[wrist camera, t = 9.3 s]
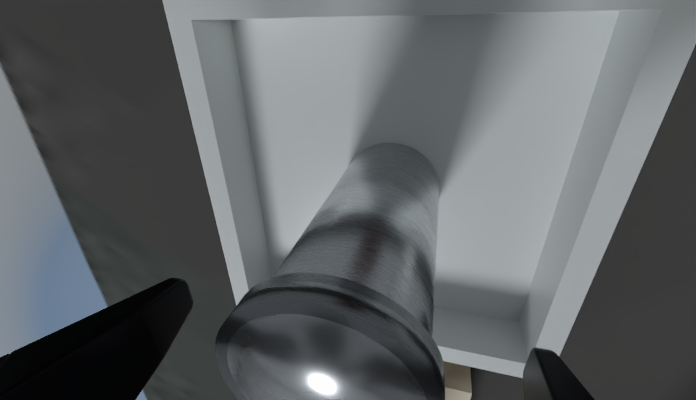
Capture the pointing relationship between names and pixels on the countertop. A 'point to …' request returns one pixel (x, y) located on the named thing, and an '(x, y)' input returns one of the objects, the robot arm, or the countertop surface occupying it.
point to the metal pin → (348, 295)
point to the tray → (438, 137)
